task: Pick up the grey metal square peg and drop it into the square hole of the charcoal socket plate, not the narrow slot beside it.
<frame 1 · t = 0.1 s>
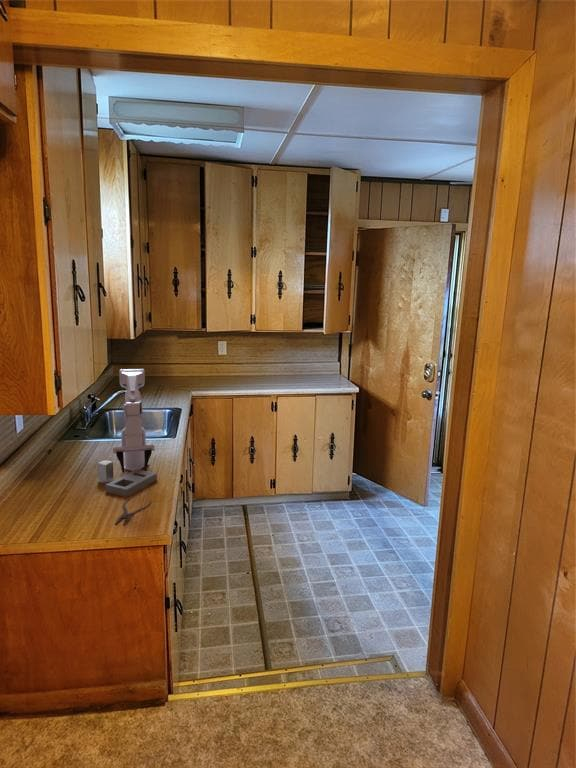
hand: (134, 471, 177), 11 cm above the worktop, tool pointing down, fingers open, 7 cm apart
socket plate: (132, 485, 190), on the worktop
peg: (106, 481, 193), on the worktop
pliers: (134, 513, 169), on the worktop
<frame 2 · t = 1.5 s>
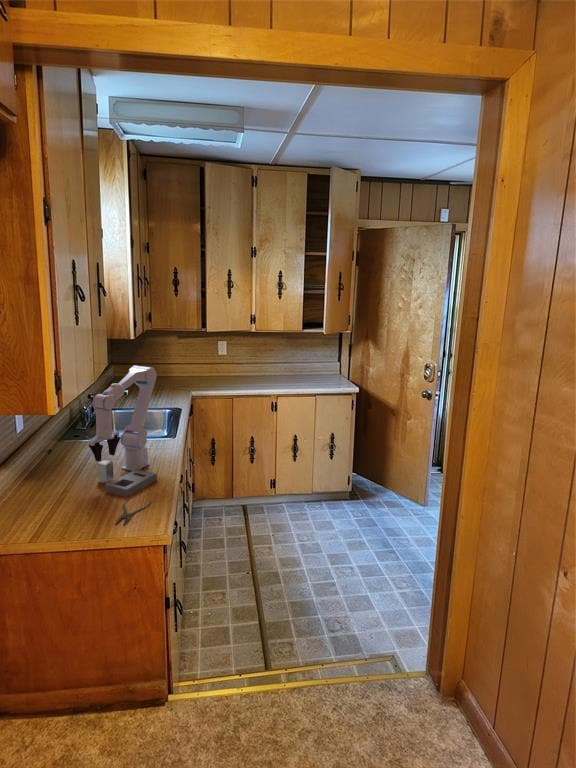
hand: (105, 457, 191), 10 cm above the worktop, tool pointing down, fingers open, 7 cm apart
nothing on the worktop moved.
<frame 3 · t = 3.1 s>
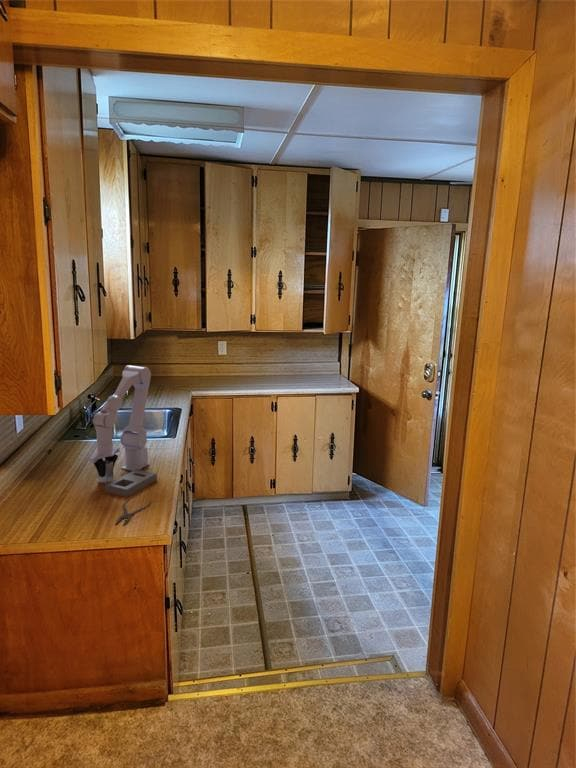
hand: (105, 474, 192), 3 cm above the worktop, tool pointing down, fingers closed on peg, 4 cm apart
peg: (106, 481, 193), on the worktop, touching gripper
everything else where it was.
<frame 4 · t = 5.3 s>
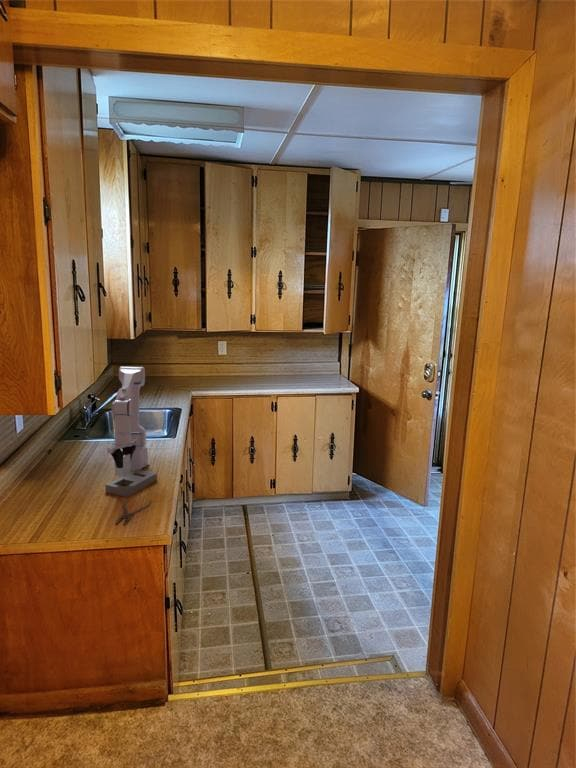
hand: (123, 465, 184), 10 cm above the worktop, tool pointing down, fingers closed on peg, 4 cm apart
peg: (122, 474, 184), point 6 cm above the worktop, touching gripper
everything else where it was.
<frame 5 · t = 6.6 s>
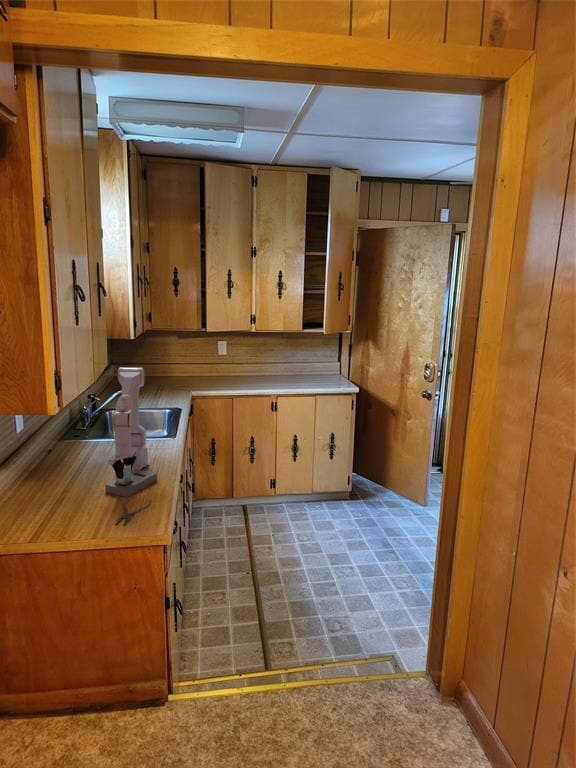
hand: (123, 476, 184), 6 cm above the worktop, tool pointing down, fingers closed on peg, 4 cm apart
peg: (123, 485, 185), point 2 cm above the worktop, touching gripper
everything else where it was.
when the fingers open (4 cm above the worktop, at t = 7.9 s): peg stays where it is, resting in socket plate.
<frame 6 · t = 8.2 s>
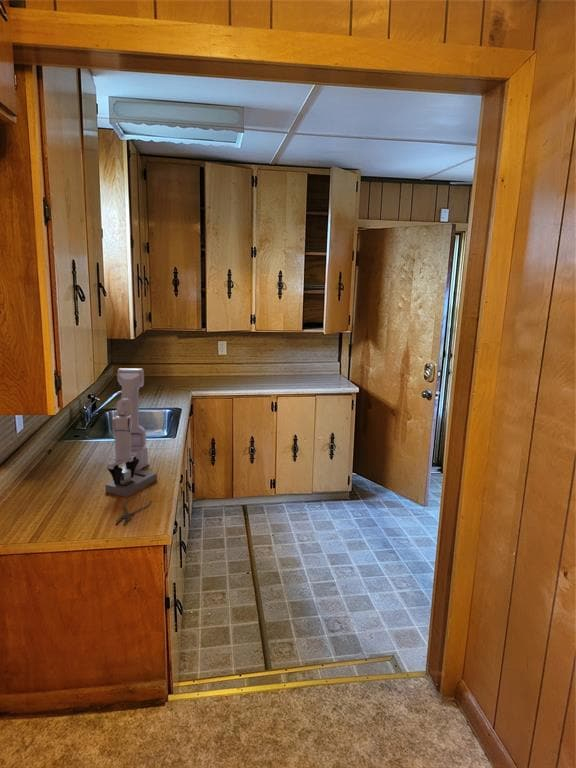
hand: (124, 480, 185), 4 cm above the worktop, tool pointing down, fingers open, 7 cm apart
peg: (123, 490, 186), resting in socket plate
everything else where it was.
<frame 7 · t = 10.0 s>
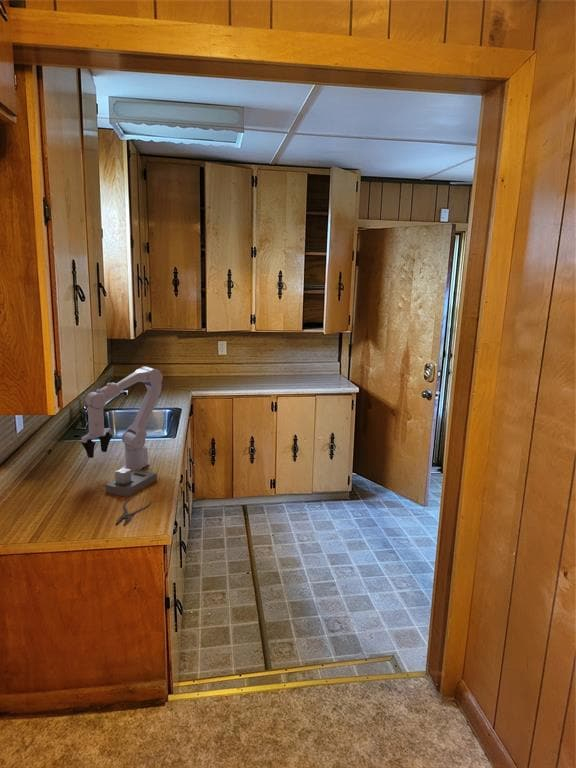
hand: (97, 454, 195), 9 cm above the worktop, tool pointing down, fingers open, 7 cm apart
nothing on the worktop moved.
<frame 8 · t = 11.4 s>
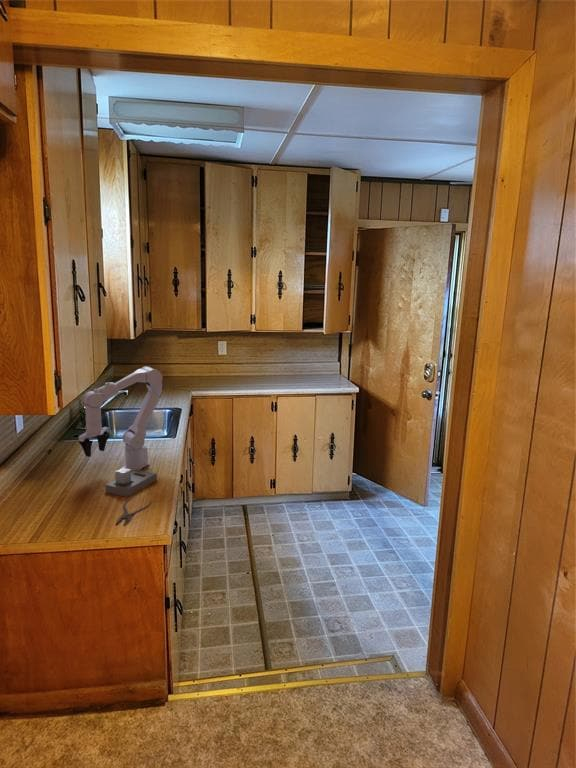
hand: (95, 453, 197), 9 cm above the worktop, tool pointing down, fingers open, 7 cm apart
nothing on the worktop moved.
at the end: peg 0.3 cm from the target spot on the socket plate, point 0.0 cm above the socket plate's base; peg tilted 0°; the gripper is holding nothing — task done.
